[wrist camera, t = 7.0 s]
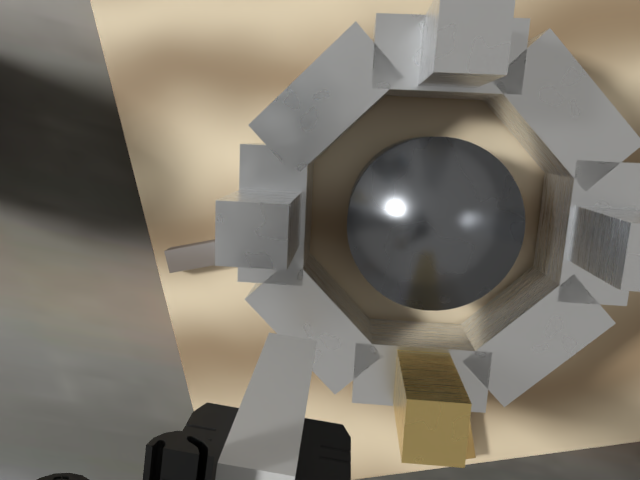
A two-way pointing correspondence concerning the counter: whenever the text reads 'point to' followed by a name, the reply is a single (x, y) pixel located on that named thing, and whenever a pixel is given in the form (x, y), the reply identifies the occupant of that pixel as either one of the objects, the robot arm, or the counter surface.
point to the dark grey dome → (435, 222)
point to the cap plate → (345, 200)
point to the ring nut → (509, 305)
